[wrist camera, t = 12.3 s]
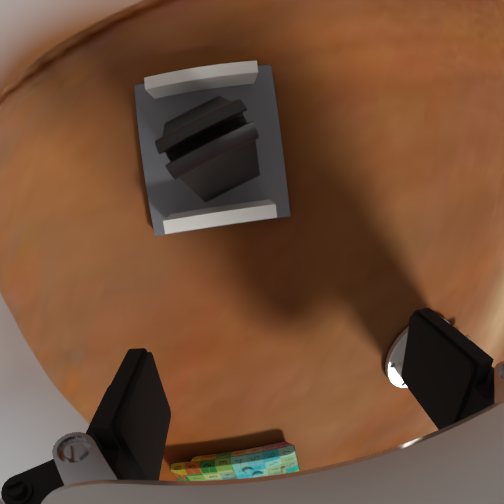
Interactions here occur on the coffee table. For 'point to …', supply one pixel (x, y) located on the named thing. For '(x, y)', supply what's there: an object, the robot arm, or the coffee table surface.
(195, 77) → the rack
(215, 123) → the phone stand
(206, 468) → the puzzle game
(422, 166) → the coffee table surface
